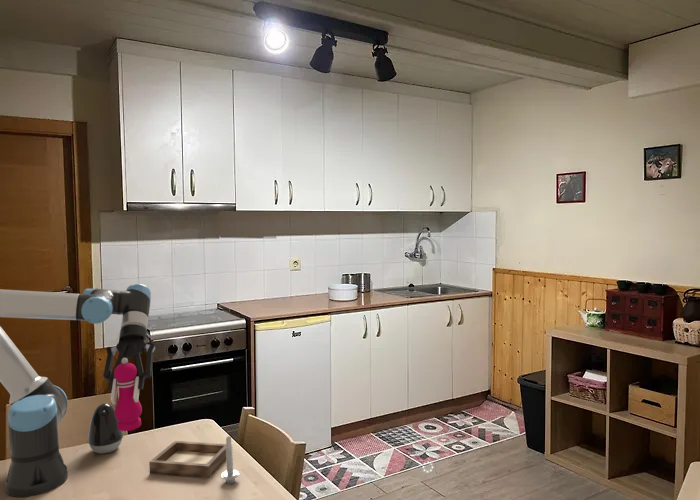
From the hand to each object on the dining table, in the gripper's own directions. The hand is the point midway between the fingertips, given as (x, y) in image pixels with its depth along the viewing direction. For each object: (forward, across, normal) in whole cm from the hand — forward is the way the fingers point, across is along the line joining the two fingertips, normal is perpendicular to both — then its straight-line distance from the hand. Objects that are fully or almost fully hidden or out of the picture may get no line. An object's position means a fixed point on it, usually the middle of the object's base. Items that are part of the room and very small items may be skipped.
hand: (124, 400), depth 148 cm
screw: (+21, -28, -13) cm, 37 cm away
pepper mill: (+4, 0, -9) cm, 10 cm away
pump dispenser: (0, +12, -33) cm, 36 cm away
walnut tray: (+11, -16, -22) cm, 29 cm away
